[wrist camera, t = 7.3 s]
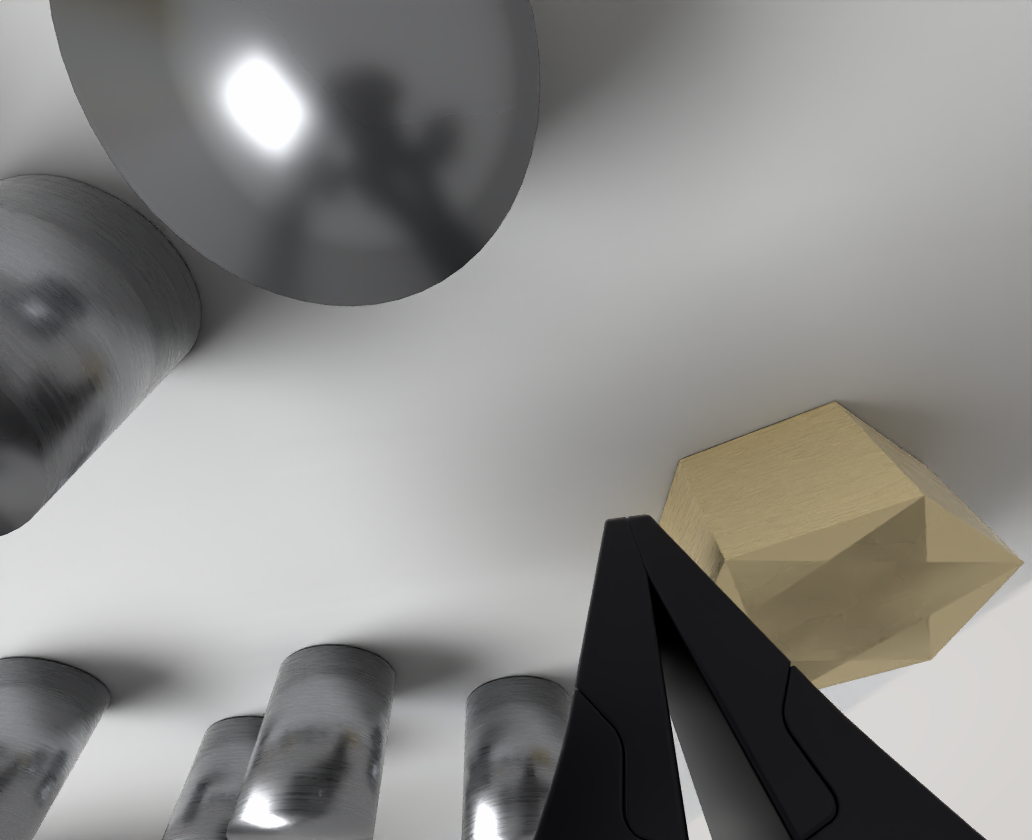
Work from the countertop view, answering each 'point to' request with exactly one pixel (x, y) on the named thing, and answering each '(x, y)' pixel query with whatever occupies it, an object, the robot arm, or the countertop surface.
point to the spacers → (282, 270)
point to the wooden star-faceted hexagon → (836, 544)
